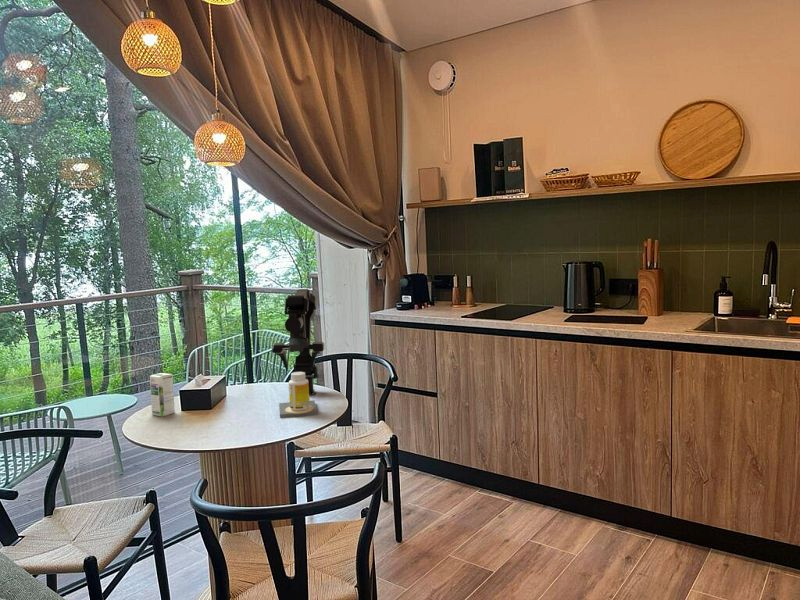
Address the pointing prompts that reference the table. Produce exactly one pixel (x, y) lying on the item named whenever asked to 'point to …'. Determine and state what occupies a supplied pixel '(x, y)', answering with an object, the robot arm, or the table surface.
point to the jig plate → (287, 412)
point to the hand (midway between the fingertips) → (299, 369)
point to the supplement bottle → (299, 392)
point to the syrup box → (162, 394)
